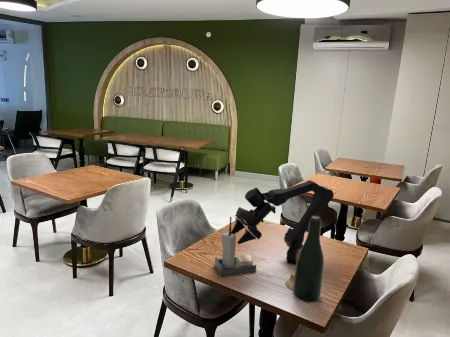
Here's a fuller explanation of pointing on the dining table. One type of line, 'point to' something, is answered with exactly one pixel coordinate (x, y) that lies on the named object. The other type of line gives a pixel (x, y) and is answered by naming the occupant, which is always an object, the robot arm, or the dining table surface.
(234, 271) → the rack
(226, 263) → the vintage mobile phone
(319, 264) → the beer bottle
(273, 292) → the dining table surface
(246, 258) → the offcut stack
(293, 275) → the hand bell
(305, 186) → the robot arm
